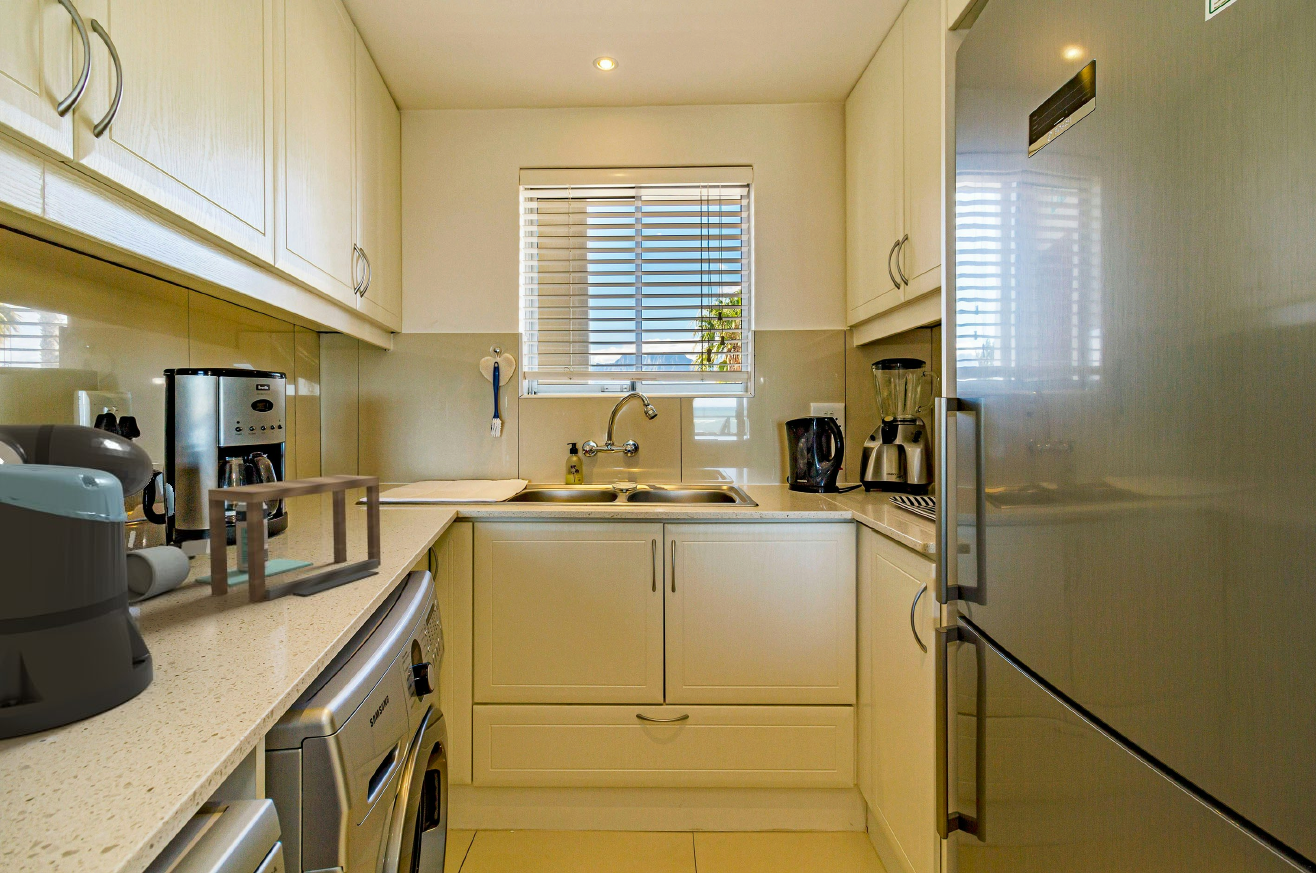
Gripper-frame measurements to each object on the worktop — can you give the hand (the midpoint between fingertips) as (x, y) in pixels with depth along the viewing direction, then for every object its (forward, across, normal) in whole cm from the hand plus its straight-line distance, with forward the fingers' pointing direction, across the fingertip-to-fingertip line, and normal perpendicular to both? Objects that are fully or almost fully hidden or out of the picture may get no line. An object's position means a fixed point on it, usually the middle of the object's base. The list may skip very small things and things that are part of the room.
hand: (172, 542), depth 106 cm
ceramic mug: (+8, +9, -10) cm, 15 cm away
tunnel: (+25, -5, -8) cm, 27 cm away
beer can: (+12, -6, -6) cm, 15 cm away
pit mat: (+33, -5, -9) cm, 34 cm away
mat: (+13, -6, -6) cm, 16 cm away
